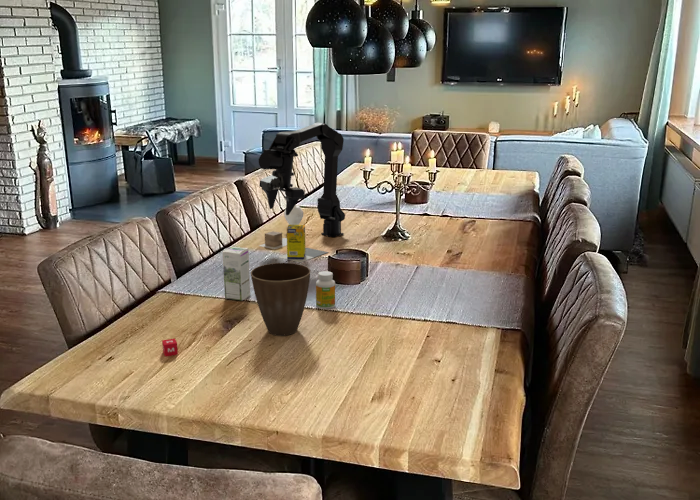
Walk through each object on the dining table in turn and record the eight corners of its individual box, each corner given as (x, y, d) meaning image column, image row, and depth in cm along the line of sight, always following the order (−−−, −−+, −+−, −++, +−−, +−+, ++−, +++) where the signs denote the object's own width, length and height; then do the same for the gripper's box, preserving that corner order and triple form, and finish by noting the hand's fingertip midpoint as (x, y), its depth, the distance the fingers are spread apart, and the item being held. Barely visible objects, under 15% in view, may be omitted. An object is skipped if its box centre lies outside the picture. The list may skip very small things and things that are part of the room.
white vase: (281, 232, 275) (280, 203, 272) (289, 228, 282) (289, 199, 279) (298, 234, 272) (297, 204, 269) (306, 230, 279) (306, 201, 276)
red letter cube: (165, 356, 164) (164, 345, 163) (163, 351, 166) (162, 340, 165) (178, 354, 165) (177, 343, 164) (175, 349, 167) (174, 338, 167)
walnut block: (273, 242, 260) (273, 231, 259) (282, 244, 257) (282, 233, 256) (265, 245, 257) (264, 233, 255) (274, 247, 254) (273, 235, 253)
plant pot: (288, 346, 169) (286, 284, 165) (240, 334, 177) (238, 274, 172) (322, 327, 181) (322, 268, 177) (277, 315, 189) (275, 259, 184)
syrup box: (251, 294, 205) (249, 247, 201) (241, 301, 200) (239, 252, 196) (233, 292, 207) (231, 245, 203) (224, 299, 201) (221, 250, 198)
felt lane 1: (284, 238, 267) (284, 237, 267) (299, 241, 262) (299, 241, 262) (258, 246, 256) (258, 245, 256) (274, 249, 252) (274, 249, 252)
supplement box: (304, 259, 239) (303, 228, 236) (287, 259, 239) (286, 228, 236) (305, 254, 245) (305, 224, 242) (288, 254, 245) (288, 224, 242)
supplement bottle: (321, 310, 193) (320, 277, 190) (312, 304, 197) (312, 271, 195) (338, 307, 195) (338, 274, 193) (330, 301, 200) (329, 269, 197)
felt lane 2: (307, 248, 254) (307, 247, 254) (328, 252, 248) (328, 252, 248) (278, 257, 242) (278, 257, 242) (299, 262, 236) (299, 262, 236)
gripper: (249, 163, 245) (245, 206, 249) (283, 174, 233) (278, 219, 237) (274, 163, 253) (269, 205, 257) (308, 174, 241) (302, 217, 245)
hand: (279, 211), depth 249 cm, fingers open, 9 cm apart
